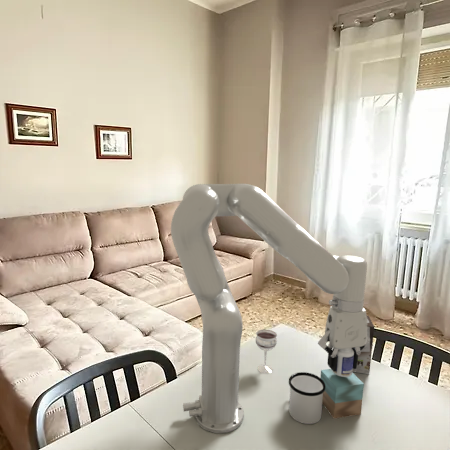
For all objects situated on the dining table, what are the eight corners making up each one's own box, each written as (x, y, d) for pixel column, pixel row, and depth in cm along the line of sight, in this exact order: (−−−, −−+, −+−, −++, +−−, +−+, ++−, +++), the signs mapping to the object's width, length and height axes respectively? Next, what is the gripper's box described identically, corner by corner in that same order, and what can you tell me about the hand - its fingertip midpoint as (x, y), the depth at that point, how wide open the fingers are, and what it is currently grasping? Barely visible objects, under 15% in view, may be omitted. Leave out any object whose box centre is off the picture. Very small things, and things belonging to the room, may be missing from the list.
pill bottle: (354, 370, 95) (357, 340, 93) (349, 380, 90) (352, 348, 89) (334, 364, 98) (336, 334, 96) (329, 373, 93) (331, 342, 92)
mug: (330, 422, 89) (333, 390, 88) (297, 429, 87) (299, 396, 85) (306, 393, 101) (308, 364, 99) (276, 399, 98) (278, 369, 97)
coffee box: (370, 374, 111) (375, 327, 108) (349, 371, 112) (353, 324, 110) (364, 359, 120) (369, 315, 117) (345, 357, 121) (349, 313, 118)
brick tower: (333, 418, 91) (336, 387, 89) (318, 399, 99) (321, 369, 97) (360, 414, 93) (363, 383, 91) (344, 395, 100) (346, 366, 99)
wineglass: (279, 370, 112) (281, 335, 110) (265, 377, 108) (267, 341, 106) (264, 360, 117) (266, 327, 115) (250, 367, 113) (251, 333, 111)
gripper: (325, 311, 85) (320, 379, 88) (386, 306, 89) (378, 371, 92) (311, 299, 92) (306, 363, 95) (367, 296, 96) (361, 356, 99)
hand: (342, 366), depth 94 cm, fingers closed on pill bottle, 5 cm apart
